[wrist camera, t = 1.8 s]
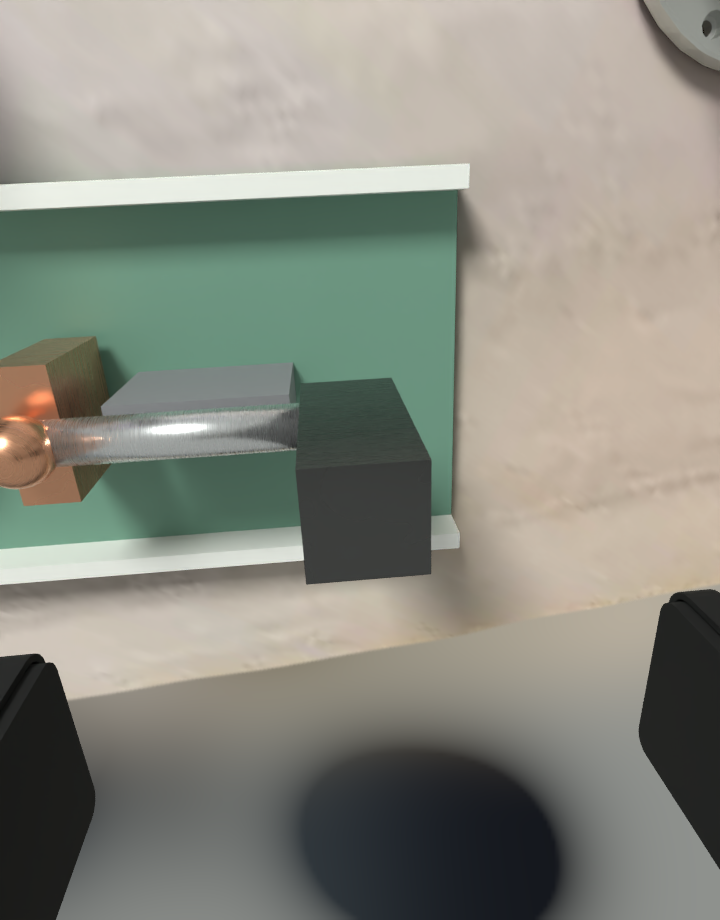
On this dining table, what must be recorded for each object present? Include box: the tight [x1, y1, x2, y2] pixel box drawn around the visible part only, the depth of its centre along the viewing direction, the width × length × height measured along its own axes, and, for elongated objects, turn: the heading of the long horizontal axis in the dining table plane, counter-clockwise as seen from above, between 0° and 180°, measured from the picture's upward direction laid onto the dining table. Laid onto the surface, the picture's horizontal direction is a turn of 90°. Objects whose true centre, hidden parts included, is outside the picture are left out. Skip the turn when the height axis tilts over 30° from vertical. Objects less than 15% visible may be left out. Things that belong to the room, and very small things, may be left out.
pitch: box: [0, 164, 470, 585], centre depth 23 cm, size 34×16×6 cm, turn 93°
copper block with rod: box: [0, 336, 432, 584], centre depth 19 cm, size 13×5×12 cm, turn 93°
